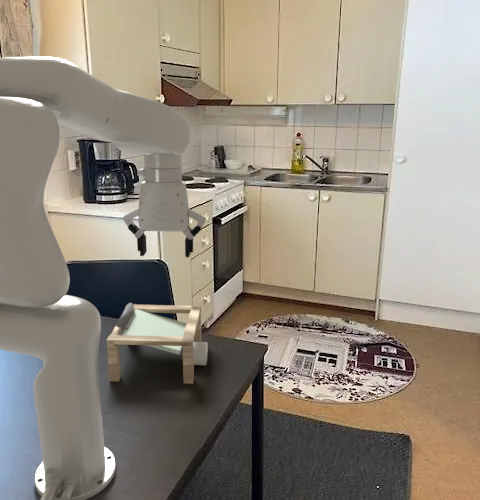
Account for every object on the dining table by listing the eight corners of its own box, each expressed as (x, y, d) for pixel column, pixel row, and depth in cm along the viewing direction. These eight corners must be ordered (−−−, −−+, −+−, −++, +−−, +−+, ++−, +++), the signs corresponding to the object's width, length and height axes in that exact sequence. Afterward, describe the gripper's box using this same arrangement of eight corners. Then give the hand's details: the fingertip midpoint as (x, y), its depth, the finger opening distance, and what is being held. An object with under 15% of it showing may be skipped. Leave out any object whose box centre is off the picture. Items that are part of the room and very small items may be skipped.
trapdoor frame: (192, 383, 107) (192, 342, 104) (109, 381, 108) (106, 339, 105) (201, 342, 124) (200, 306, 121) (129, 340, 125) (127, 304, 122)
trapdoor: (179, 354, 108) (183, 342, 107) (111, 336, 107) (115, 323, 106) (187, 327, 120) (190, 315, 119) (126, 310, 119) (129, 298, 118)
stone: (183, 369, 113) (205, 370, 113) (182, 350, 111) (204, 351, 111) (186, 355, 118) (207, 356, 118) (185, 336, 116) (207, 337, 116)
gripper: (116, 177, 99) (121, 259, 104) (203, 179, 98) (204, 261, 103) (125, 171, 106) (130, 248, 111) (207, 173, 105) (207, 250, 110)
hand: (165, 254), depth 107 cm, fingers open, 9 cm apart
